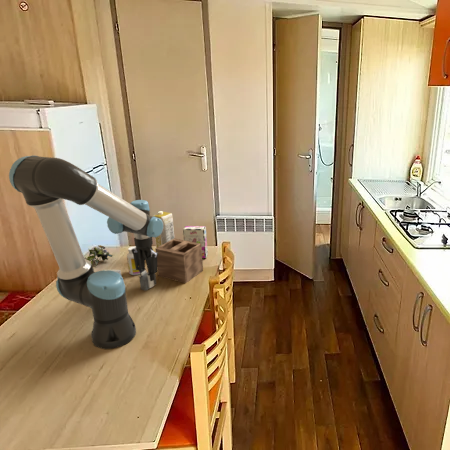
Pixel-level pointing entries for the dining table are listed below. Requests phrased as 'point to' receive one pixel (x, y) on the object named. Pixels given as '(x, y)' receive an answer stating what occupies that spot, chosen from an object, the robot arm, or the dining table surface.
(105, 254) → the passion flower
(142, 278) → the grey rectangular block
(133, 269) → the supplement bottle
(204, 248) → the candy bar box
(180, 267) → the wooden compartment box
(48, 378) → the dining table surface
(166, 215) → the juice carton
